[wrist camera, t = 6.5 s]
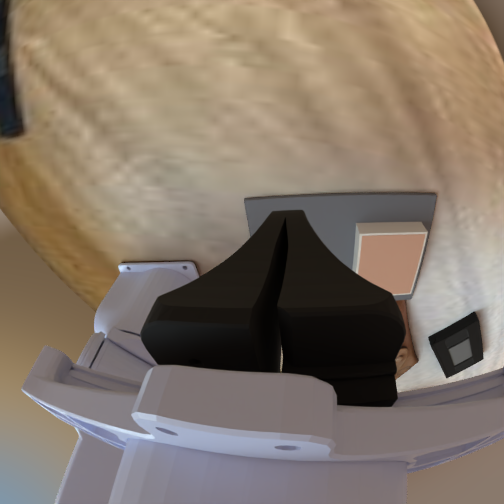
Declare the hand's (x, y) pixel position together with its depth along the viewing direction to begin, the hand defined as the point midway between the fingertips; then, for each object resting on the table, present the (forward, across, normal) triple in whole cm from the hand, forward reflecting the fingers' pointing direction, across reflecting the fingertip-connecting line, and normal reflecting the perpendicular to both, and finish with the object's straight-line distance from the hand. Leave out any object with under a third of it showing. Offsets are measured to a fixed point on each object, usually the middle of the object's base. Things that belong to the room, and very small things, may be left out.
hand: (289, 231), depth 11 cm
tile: (+9, -5, +9) cm, 13 cm away
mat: (+10, -4, +9) cm, 14 cm away
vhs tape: (+11, -24, +27) cm, 38 cm away
